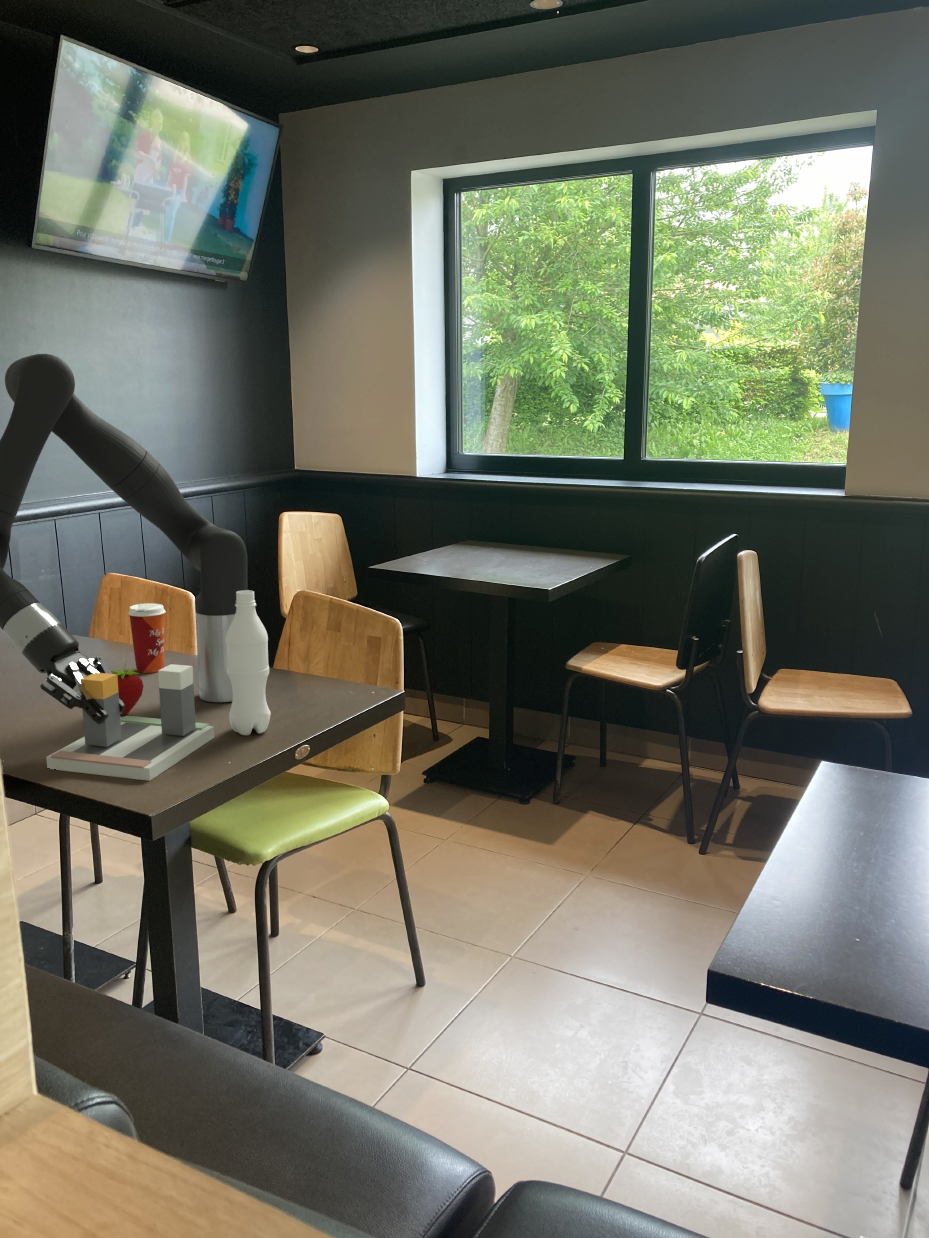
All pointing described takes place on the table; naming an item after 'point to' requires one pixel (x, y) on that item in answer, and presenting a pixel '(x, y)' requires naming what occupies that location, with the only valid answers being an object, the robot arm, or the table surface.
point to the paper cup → (148, 636)
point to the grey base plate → (144, 736)
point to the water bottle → (247, 667)
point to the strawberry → (129, 688)
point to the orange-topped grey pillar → (108, 698)
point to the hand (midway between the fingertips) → (112, 715)
